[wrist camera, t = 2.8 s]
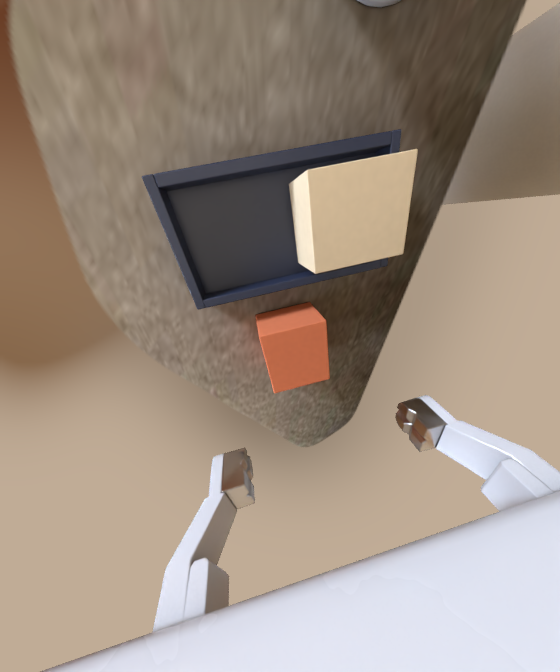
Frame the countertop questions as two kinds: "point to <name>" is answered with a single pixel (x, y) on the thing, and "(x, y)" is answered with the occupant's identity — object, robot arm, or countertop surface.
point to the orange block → (294, 346)
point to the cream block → (352, 211)
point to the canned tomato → (378, 2)
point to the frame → (248, 219)
